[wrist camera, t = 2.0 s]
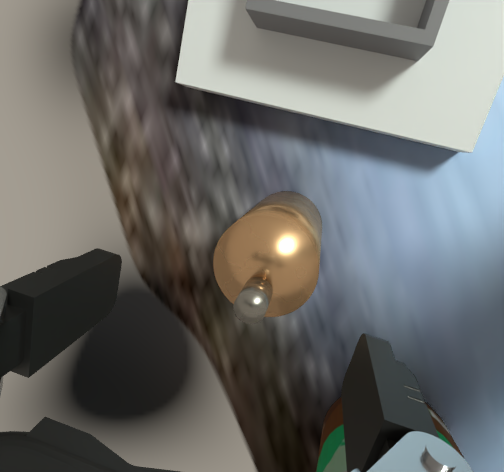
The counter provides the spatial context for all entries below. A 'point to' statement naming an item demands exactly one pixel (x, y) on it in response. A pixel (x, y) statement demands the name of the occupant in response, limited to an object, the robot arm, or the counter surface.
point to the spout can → (270, 257)
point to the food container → (333, 442)
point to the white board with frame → (354, 61)
